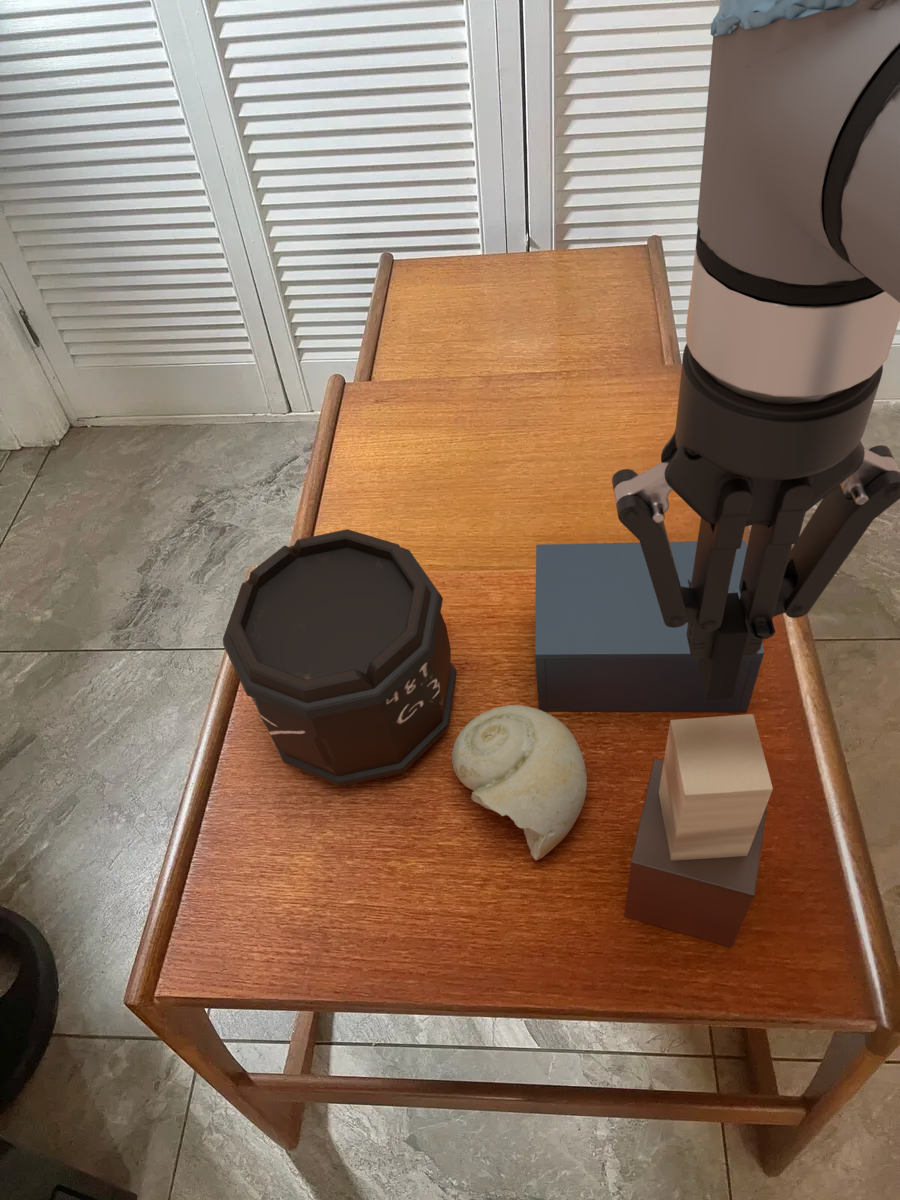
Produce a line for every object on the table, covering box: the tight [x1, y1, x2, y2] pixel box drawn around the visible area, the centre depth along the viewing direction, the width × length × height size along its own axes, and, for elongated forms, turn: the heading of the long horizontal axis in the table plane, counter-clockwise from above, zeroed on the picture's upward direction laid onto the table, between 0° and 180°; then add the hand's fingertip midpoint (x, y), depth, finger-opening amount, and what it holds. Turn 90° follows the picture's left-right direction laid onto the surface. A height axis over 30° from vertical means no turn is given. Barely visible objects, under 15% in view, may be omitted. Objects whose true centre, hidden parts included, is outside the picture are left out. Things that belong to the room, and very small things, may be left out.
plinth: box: [623, 758, 769, 948], centre depth 66 cm, size 8×8×11 cm
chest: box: [534, 658, 763, 713], centre depth 79 cm, size 11×18×8 cm, turn 86°
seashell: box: [451, 704, 588, 861], centre depth 73 cm, size 13×8×10 cm
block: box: [659, 713, 774, 861], centre depth 57 cm, size 5×5×10 cm
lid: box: [534, 539, 765, 660], centre depth 76 cm, size 12×18×1 cm, turn 86°
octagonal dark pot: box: [222, 528, 458, 787], centre depth 77 cm, size 18×18×16 cm
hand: (715, 679), depth 54 cm, fingers closed
